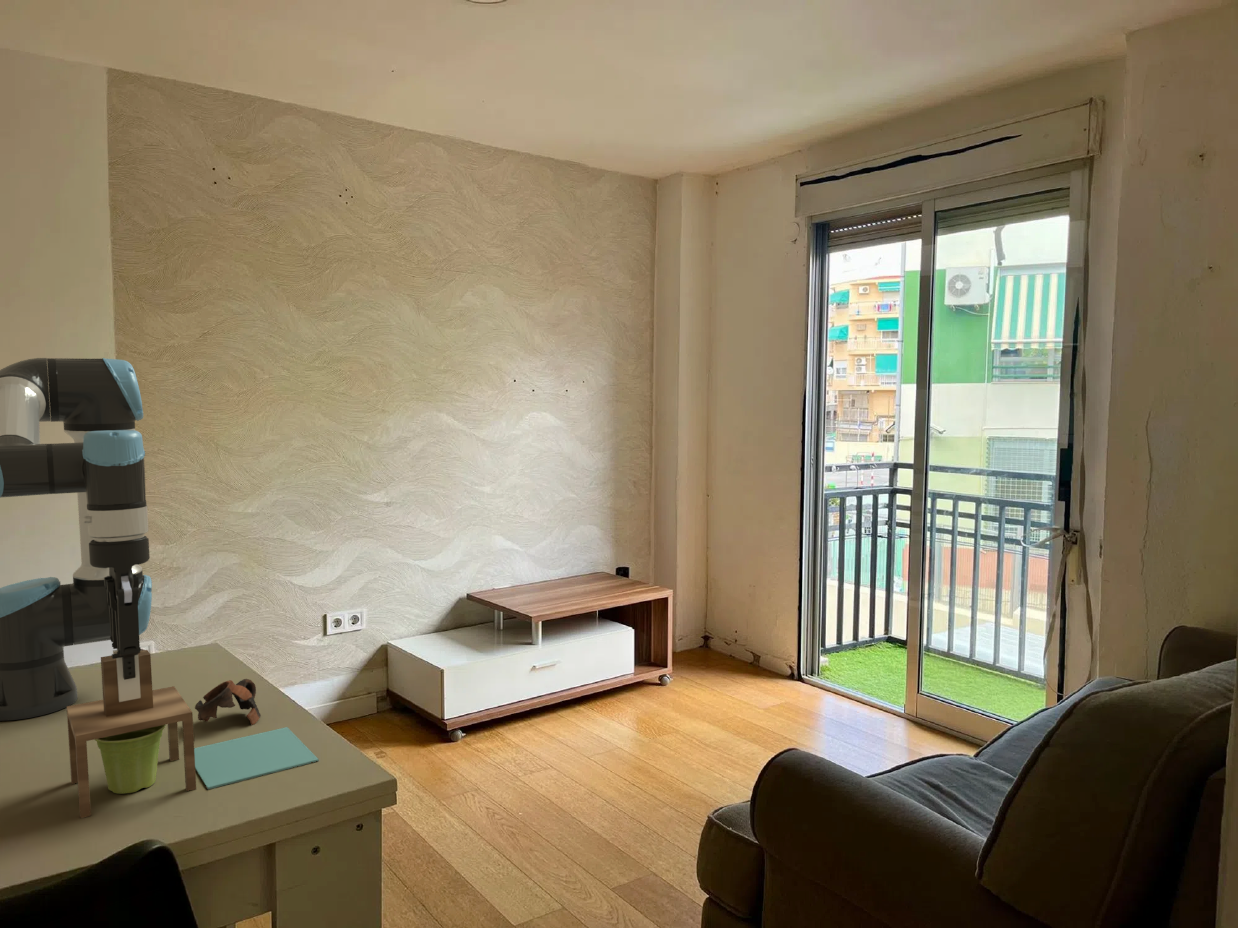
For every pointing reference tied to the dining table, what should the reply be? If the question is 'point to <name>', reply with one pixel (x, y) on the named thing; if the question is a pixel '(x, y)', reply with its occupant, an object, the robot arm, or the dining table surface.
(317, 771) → the dining table surface
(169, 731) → the brown piece
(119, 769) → the plant pot
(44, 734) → the dining table surface
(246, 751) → the teal mat
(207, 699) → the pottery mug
